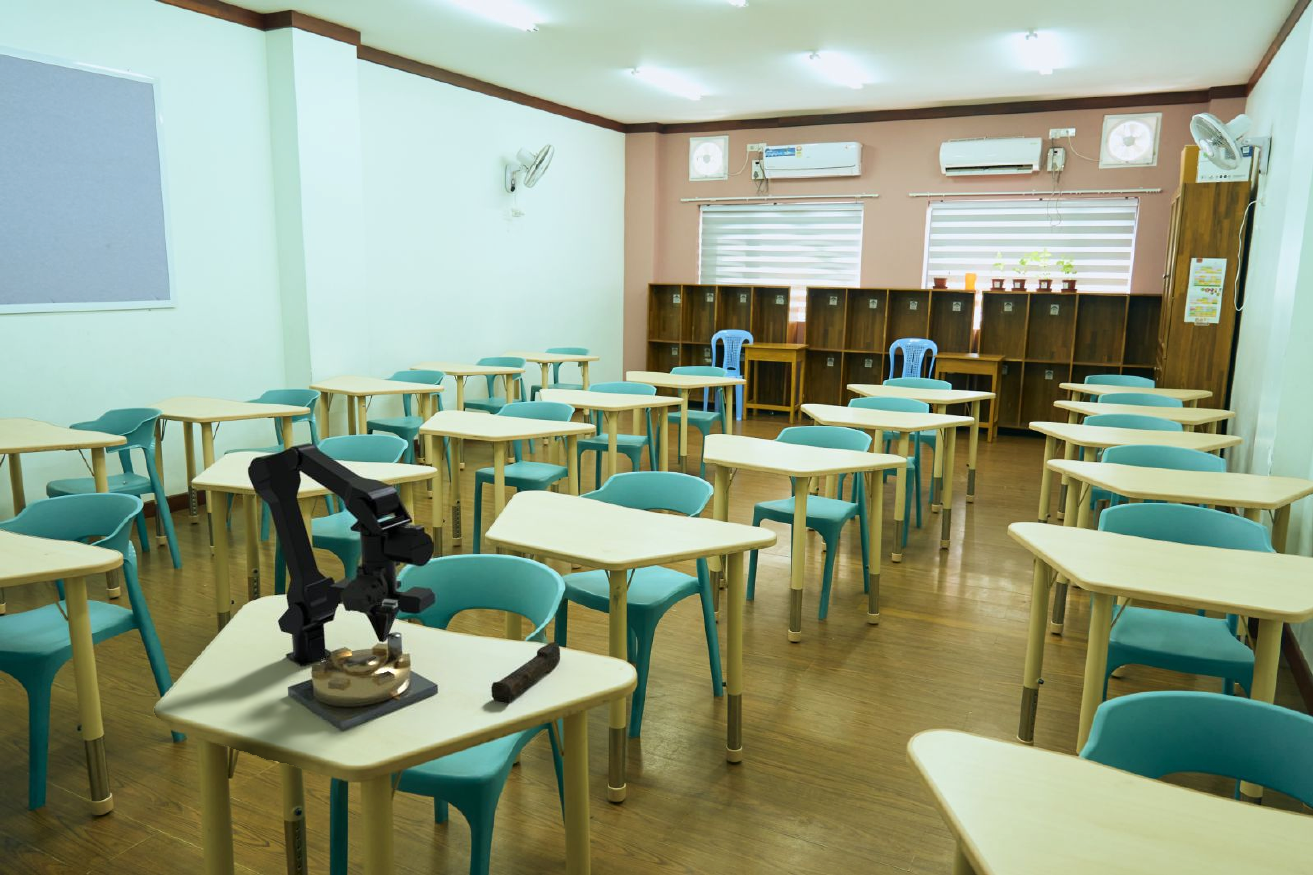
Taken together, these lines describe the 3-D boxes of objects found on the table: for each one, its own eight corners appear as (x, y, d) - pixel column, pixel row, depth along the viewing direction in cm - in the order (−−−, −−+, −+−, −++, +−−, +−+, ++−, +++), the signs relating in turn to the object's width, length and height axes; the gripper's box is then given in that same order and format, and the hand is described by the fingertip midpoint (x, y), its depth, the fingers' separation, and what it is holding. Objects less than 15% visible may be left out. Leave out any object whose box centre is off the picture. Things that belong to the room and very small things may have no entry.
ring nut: (343, 716, 142) (341, 675, 140) (295, 685, 152) (293, 647, 151) (429, 683, 153) (427, 645, 152) (379, 656, 164) (377, 620, 163)
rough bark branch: (509, 707, 149) (508, 682, 149) (490, 701, 151) (489, 676, 150) (571, 665, 166) (571, 641, 165) (554, 660, 168) (554, 637, 167)
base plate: (288, 695, 152) (287, 686, 152) (381, 662, 166) (381, 653, 165) (341, 731, 141) (341, 721, 140) (437, 692, 154) (437, 683, 153)
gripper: (302, 566, 150) (308, 652, 153) (399, 577, 145) (403, 666, 148) (343, 547, 161) (348, 628, 163) (435, 557, 155) (438, 640, 158)
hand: (382, 641), depth 158 cm, fingers closed
